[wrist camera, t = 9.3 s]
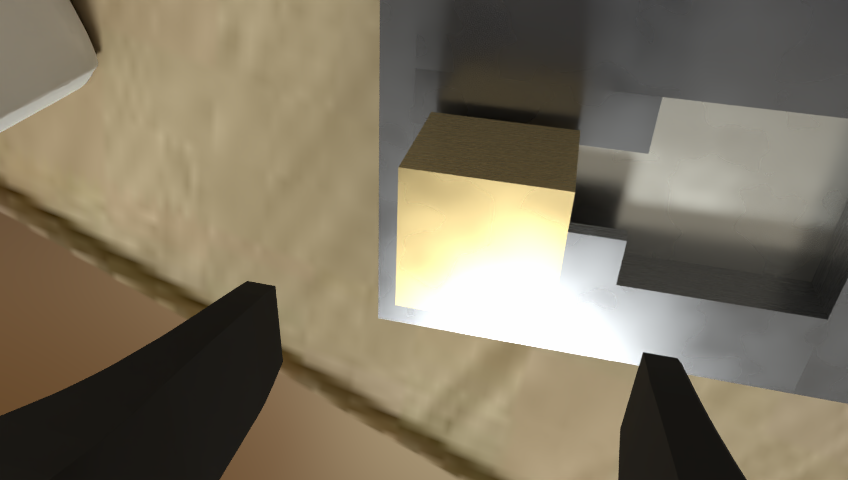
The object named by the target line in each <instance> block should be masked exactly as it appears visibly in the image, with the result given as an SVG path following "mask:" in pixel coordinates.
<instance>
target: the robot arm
mask: <svg viewBox="0 0 848 480" xmlns="http://www.w3.org/2000/svg"><path fill="white" fill-rule="evenodd" d="M282 362H283V358H282V348H281V338H280V328H279V318H278V308H277V298H276V288H275V286H272V285H266V284H260V283H255V282H249V281H247V282H245V283H243V284H242V285H240V286H239V287H237V288H235V289H234V290H232V291H231V292H229V293H228V294H226V295H225V296H223V297H222V298H220V299H219V300H217V301H216V302H214V303H213V304H211V305H210V306H208V307H207V308H205V309H204V310H202V311H200V312H199V313H197V314H196V315H194V316H193V317H191V318H190V319H188V320H187V321H185V322H184V323H182V324H180V325H179V326H177V327H176V328H174V329H173V330H171V331H169V332H168V333H166V334H165V335H163V336H162V337H160V338H158V339H156V340H155V341H153V342H151V343H150V344H148V345H146V346H145V347H143V348H141V349H139V350H138V351H136V352H134V353H132V354H131V355H129V356H127V357H126V358H124V359H122V360H120V361H119V362H117V363H115V364H114V365H111V366H110V367H108V368H106V369H104V370H102V371H100V372H98V373H96V374H94V375H92V376H90V377H88V378H86V379H84V380H82V381H80V382H78V383H76V384H74V385H72V386H70V387H68V388H66V389H63V390H61V391H59V392H57V393H55V394H52V395H50V396H48V397H45V398H43V399H40V400H38V401H35V402H33V403H31V404H28V405H26V406H23V407H21V408H18V409H16V410H14V411H11V412H9V413H6V414H4V415H1V416H0V480H219V479H220V478H221V476H222V475H223V473H224V471H225V470H226V468H227V466H228V465H229V463H230V461H231V460H232V458H233V456H234V455H235V453H236V451H237V450H238V448H239V446H240V445H241V443H242V442H243V440H244V438H245V436H246V435H247V433H248V431H249V430H250V428H251V426H252V425H253V423H254V421H255V420H256V418H257V416H258V414H259V413H260V411H261V409H262V408H263V406H264V404H265V402H266V399H267V397H268V395H269V393H270V391H271V388H272V386H273V384H274V381H275V379H276V377H277V374H278V372H279V370H280V367H281V365H282ZM618 480H746V478H745V476H744V475H743V473H742V472H741V470H740V469H739V467H738V465H737V464H736V462H735V461H734V459H733V457H732V456H731V454H730V452H729V451H728V449H727V447H726V446H725V444H724V442H723V440H722V439H721V437H720V435H719V434H718V432H717V430H716V429H715V427H714V425H713V423H712V421H711V420H710V418H709V416H708V414H707V412H706V410H705V409H704V407H703V405H702V403H701V401H700V399H699V397H698V395H697V393H696V391H695V389H694V387H693V385H692V384H691V381H690V379H689V377H688V375H687V373H686V371H685V369H684V367H683V365H682V363H681V362H680V361H679V359H678V358H674V357H668V356H663V355H657V354H652V353H646V352H643V354H642V357H641V361H640V364H639V368H638V371H637V374H636V378H635V381H634V385H633V388H632V391H631V395H630V398H629V402H628V405H627V408H626V412H625V415H624V419H623V422H622V425H621V429H620V450H619V478H618Z"/></svg>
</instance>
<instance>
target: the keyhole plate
mask: <svg viewBox="0 0 848 480" xmlns="http://www.w3.org/2000/svg"><path fill="white" fill-rule="evenodd" d="M431 112H436V113H444V114H452V115H460V116H468V117H476V118H484V119H492V120H500V121H507V122H515V123H523V124H531V125H539V126H547V127H555V128H563V129H571V130H579V131H580V140H579V152H578V164H577V176H576V188H575V196H574V201H573V207H572V212H571V217H570V223H569V228H568V234H567V239H566V244H565V250H564V255H563V261H562V266H561V272H560V277H559V282H558V288H557V293H556V299H555V304H554V309H553V315H552V320H551V326H550V331H549V332H545V331H540V330H534V329H528V328H523V327H517V326H511V325H506V324H500V323H495V322H489V321H483V320H478V319H472V318H466V317H461V316H455V315H449V314H444V313H438V312H432V311H427V310H421V309H415V308H410V307H404V306H398V305H395V301H396V254H397V208H398V167H399V165H400V164H401V162H402V160H403V159H404V157H405V155H406V154H407V152H408V150H409V149H410V147H411V145H412V144H413V142H414V140H415V139H416V137H417V135H418V134H419V132H420V130H421V129H422V127H423V125H424V123H425V122H426V120H427V118H428V117H429V115H430V113H431ZM378 318H381V319H386V320H392V321H397V322H403V323H408V324H414V325H419V326H425V327H430V328H435V329H441V330H446V331H452V332H457V333H463V334H468V335H474V336H479V337H485V338H490V339H496V340H501V341H507V342H512V343H518V344H523V345H529V346H534V347H540V348H545V349H551V350H556V351H562V352H567V353H573V354H578V355H584V356H589V357H595V358H600V359H606V360H611V361H617V362H622V363H628V364H633V365H639V364H640V361H641V357H642V354H643V352H646V353H652V354H657V355H663V356H668V357H674V358H678V359H679V361H680V362H681V363H682V365H683V367H684V369H685V371H686V373H687V374H688V375H694V376H699V377H705V378H710V379H716V380H721V381H727V382H732V383H738V384H743V385H749V386H754V387H760V388H765V389H771V390H776V391H782V392H787V393H792V394H798V395H803V396H809V397H814V398H820V399H825V400H831V401H836V402H842V403H847V404H848V0H380V113H379V309H378Z"/></svg>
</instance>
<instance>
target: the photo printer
mask: <svg viewBox="0 0 848 480" xmlns="http://www.w3.org/2000/svg"><path fill="white" fill-rule="evenodd" d="M97 66H98V60H97V56H96V53H95V51H94V48H93V46H92V43H91V41H90V39H89V36H88V34H87V32H86V30H85V28H84V26H83V24H82V22H81V21H80V19H79V17H78V15H77V13H76V11H75V9H74V7H73V5H72V4H71V2H70V0H0V132H2V131H4V130H6V129H8V128H9V127H11V126H13V125H15V124H17V123H18V122H20V121H22V120H24V119H26V118H27V117H29V116H31V115H33V114H35V113H37V112H38V111H40V110H42V109H44V108H46V107H47V106H49V105H51V104H53V103H55V102H56V101H58V100H60V99H62V98H63V97H65V96H67V95H69V94H70V93H72V92H74V91H76V90H78V89H79V88H81V87H82V86H83V85H85V84H86V83H87V81H88V80H89V78H90V77H91V75H92V73H93V71H94V70H95V69H96V68H97Z"/></svg>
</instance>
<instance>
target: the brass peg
mask: <svg viewBox="0 0 848 480" xmlns="http://www.w3.org/2000/svg"><path fill="white" fill-rule="evenodd" d="M579 140H580V131H579V130H571V129H563V128H555V127H547V126H539V125H531V124H523V123H515V122H507V121H500V120H492V119H484V118H476V117H468V116H460V115H452V114H444V113H436V112H431V113H430V115H429V117H428V118H427V120H426V122H425V123H424V125H423V127H422V129H421V130H420V132H419V134H418V135H417V137H416V139H415V140H414V142H413V144H412V145H411V147H410V149H409V150H408V152H407V154H406V155H405V157H404V159H403V160H402V162H401V164H400V165H399V167H398V208H397V254H396V301H395V305H398V306H404V307H410V308H415V309H421V310H427V311H432V312H438V313H444V314H449V315H455V316H461V317H466V318H472V319H478V320H483V321H489V322H495V323H500V324H506V325H511V326H517V327H523V328H528V329H534V330H540V331H545V332H549V331H550V326H551V320H552V315H553V309H554V304H555V299H556V293H557V288H558V282H559V277H560V272H561V266H562V261H563V255H564V250H565V244H566V239H567V234H568V228H569V223H570V217H571V212H572V207H573V201H574V196H575V188H576V176H577V164H578V152H579Z"/></svg>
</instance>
